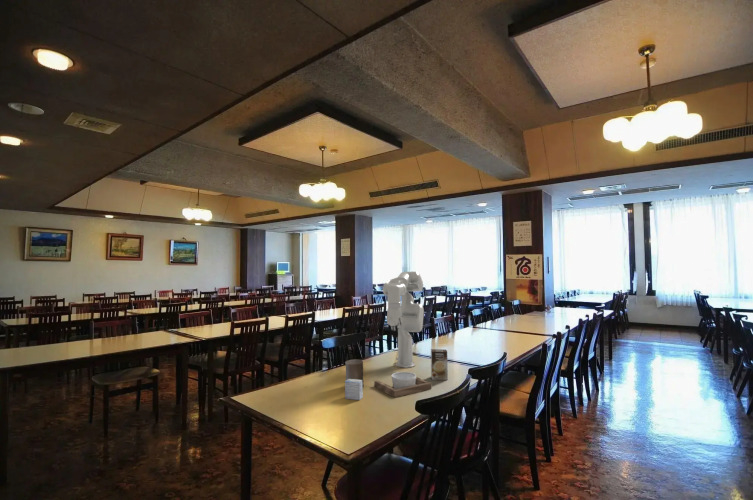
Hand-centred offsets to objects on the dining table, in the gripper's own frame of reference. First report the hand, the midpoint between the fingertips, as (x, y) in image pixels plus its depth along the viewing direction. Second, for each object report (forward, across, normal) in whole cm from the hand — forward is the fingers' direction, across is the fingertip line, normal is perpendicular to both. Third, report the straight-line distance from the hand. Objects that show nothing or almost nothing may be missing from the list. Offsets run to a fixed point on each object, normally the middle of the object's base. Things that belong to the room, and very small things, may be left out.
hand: (395, 336), depth 211 cm
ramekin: (+23, +19, -7) cm, 31 cm away
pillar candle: (+23, +3, -29) cm, 37 cm away
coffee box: (+24, +16, +20) cm, 35 cm away
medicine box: (+22, +18, -36) cm, 46 cm away
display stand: (+23, +17, -7) cm, 30 cm away
